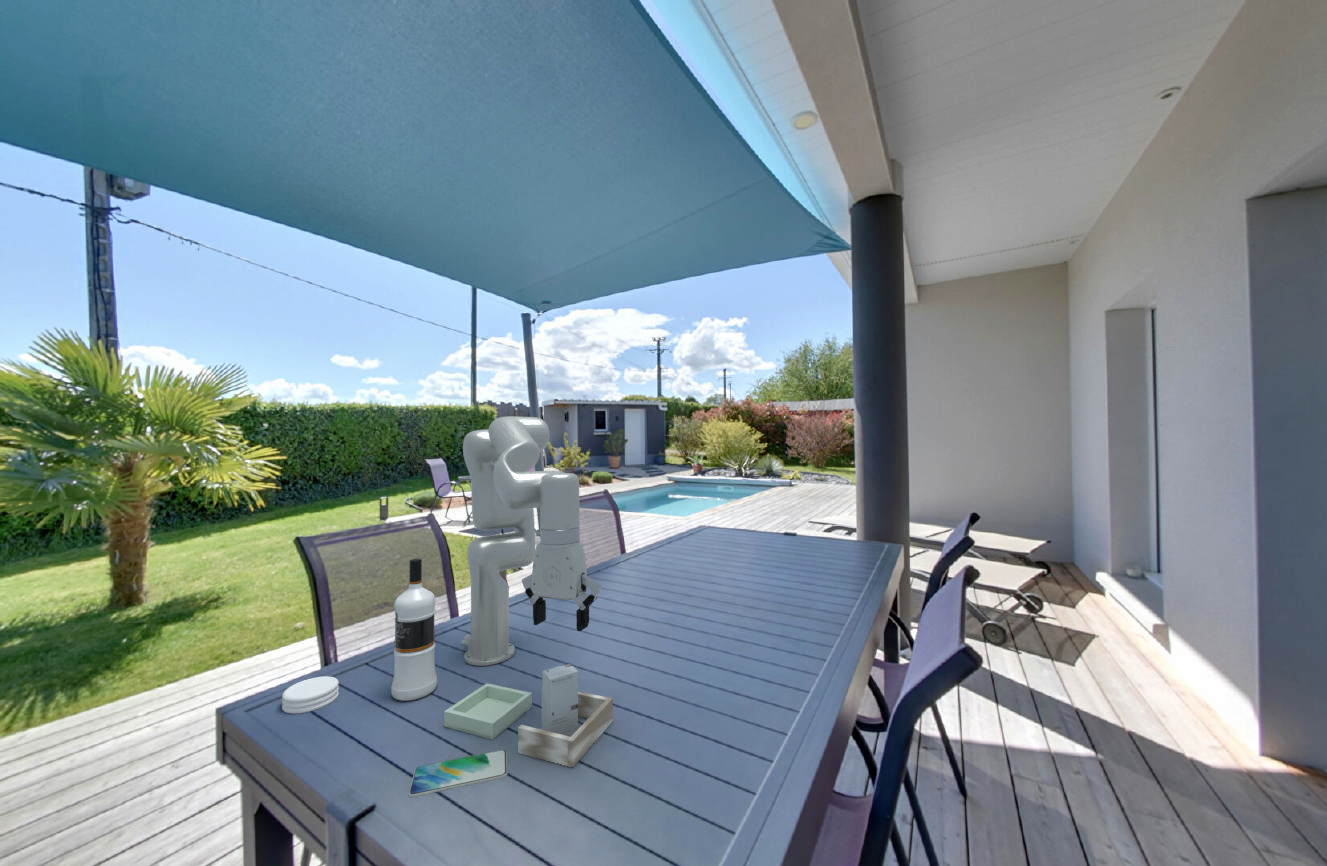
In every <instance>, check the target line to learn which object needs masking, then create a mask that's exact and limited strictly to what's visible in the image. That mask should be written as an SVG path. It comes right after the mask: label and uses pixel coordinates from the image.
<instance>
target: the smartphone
mask: <svg viewBox="0 0 1327 866" xmlns="http://www.w3.org/2000/svg"><path fill="white" fill-rule="evenodd" d="M413 772H414V773H413V777H412V780H411V784H410V786H409V792H408V797H409V798H417V797H421V796H425V794H426V795H430V794H429V793H431V794H435V793H434V792H436V793H440V792H444V791H448V790H453V789H458V787H459V788H463V787H464V786H463V785H468V784H472V785H476V784H480V782H481V783H485V782H490V781H489V780H491V781H494V780H495V781H496V780H499V779H504V778H506V777H507V776H508V752H507V750H506V749H499V750H494V751H490V752H489V751H488V752H485V753H479V754H478V753H477V754H473V755H470V756H463V757H459V758H454V759H448V760H444V761H439V762H435V763H428V764H423V765H419V766H417V767H416V768H415V769H414V771H413ZM505 776H506V777H505ZM484 781H485V782H484ZM462 786H463V787H462ZM468 786H469V785H468Z"/></svg>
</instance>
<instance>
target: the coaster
mask: <svg viewBox="0 0 1327 866" xmlns="http://www.w3.org/2000/svg"><path fill="white" fill-rule="evenodd" d="M339 684H340V682H339V680H338V679H337V678H336V677H333V676H327V675H326V676H324V675H323V676H317V677H311V678H308V679H305V680H301V681H299V682H296V683H294V684H293V685H290V686H289V687H288V688H286V689H285V690H284V692H283V693H282V695H281V698H282V700H281V703H282V705H281V709H282V711H283V712H284V713H287V714H292V715H293V714H294V715H295V714H297V715H298V714H304V713H310V712H313V711H316V710H319V709H321V708H324V707H326V706H328V705H330V704H331V703H332V702H335V700H336V699H337V698H338V697H339V694H340V693H339V692H340V691H339Z"/></svg>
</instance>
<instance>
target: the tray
mask: <svg viewBox="0 0 1327 866" xmlns="http://www.w3.org/2000/svg"><path fill="white" fill-rule="evenodd" d="M532 698H533V693H532V692H529V691H525V690H520V689H514V688H510V687H506V686H502V685H496V684H493V683H488V682H487V683H485V684H483V685H482V686H480V687H479V688H478V689H476V690H475V691H473V692H472V693H470V694H468V695H467V696H465V697H464V698H463V699H461V700H459V701H458V702H456V703H454V704H453V705H451V706H449V708H447V709H446V710H444V711H443V713H444V714H443V715H444V717H443V718H444V719H443V720H444V721H443V722H444V723H443V726H444V728H447V729H451V730H454V731H460V732H462V733H465V734H470V735H474V736H477V737H481V738H484V739H488V740H492V741H493V740H495V738H497V737H498V736H499V735H500V734H502V733H503V732H504V731H505V730H506V729H508V728H509V727H510V726H512V724H514V723H515V722H516V721H517V720H519V718H521V717H522V716H523V715H525V714H526V713H527V712H528V711H529V710H530V709H532V708H533V699H532ZM531 707H532V708H531ZM529 708H530V709H529ZM528 709H529V710H528ZM527 710H528V711H527ZM526 711H527V712H526ZM525 712H526V713H525ZM521 715H522V716H521Z"/></svg>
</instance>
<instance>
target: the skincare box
mask: <svg viewBox="0 0 1327 866" xmlns="http://www.w3.org/2000/svg"><path fill="white" fill-rule="evenodd" d="M541 678H542V679H541V730H545V731H549V732H553V733H557V734H561V735H565V736H569V737H571V736H572V735H573V734H574V733H575V732H576V731H577V730H578V729H579V716H578V691H579V670H577V669H576V668H575V667H574V666H573V664H571V663H568V664H564V665H559V666H555V667H551V668H548V669H545V670H542V673H541Z"/></svg>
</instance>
